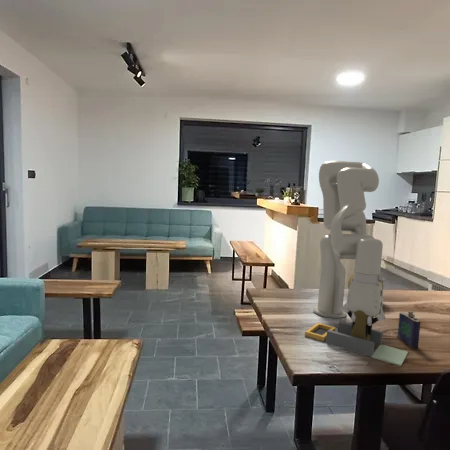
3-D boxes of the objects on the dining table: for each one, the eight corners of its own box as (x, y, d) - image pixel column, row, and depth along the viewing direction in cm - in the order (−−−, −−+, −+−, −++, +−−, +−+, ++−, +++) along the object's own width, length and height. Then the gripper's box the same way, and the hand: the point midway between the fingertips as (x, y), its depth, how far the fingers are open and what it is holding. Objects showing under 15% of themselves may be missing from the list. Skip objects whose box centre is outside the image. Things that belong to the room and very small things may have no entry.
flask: (395, 337, 124) (398, 306, 123) (403, 337, 124) (406, 306, 123) (412, 349, 115) (416, 316, 114) (421, 349, 115) (425, 316, 114)
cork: (367, 346, 112) (370, 311, 111) (347, 341, 115) (350, 307, 114) (372, 340, 117) (375, 306, 116) (352, 335, 120) (355, 302, 119)
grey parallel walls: (338, 332, 126) (339, 320, 126) (381, 343, 118) (382, 331, 117) (326, 343, 116) (327, 331, 116) (371, 356, 108) (373, 343, 108)
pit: (317, 326, 130) (317, 322, 130) (335, 331, 126) (335, 327, 126) (304, 336, 121) (305, 331, 121) (323, 341, 117) (324, 337, 117)
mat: (380, 345, 117) (380, 344, 117) (407, 353, 112) (408, 351, 112) (371, 357, 108) (371, 356, 108) (400, 366, 103) (401, 364, 103)
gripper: (397, 280, 112) (391, 338, 114) (344, 271, 121) (339, 324, 123) (391, 285, 106) (385, 346, 108) (336, 275, 115) (331, 331, 117)
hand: (361, 334), depth 116 cm, fingers closed on cork, 3 cm apart
